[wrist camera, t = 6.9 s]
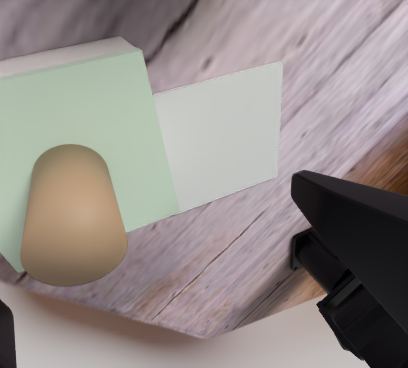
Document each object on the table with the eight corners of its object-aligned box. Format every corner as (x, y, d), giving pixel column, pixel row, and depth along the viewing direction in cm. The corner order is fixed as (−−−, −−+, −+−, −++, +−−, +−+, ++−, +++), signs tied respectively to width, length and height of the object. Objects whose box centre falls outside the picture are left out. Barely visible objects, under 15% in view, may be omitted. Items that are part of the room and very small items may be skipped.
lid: (176, 204, 17) (215, 277, 13) (19, 262, 15) (3, 372, 11) (137, 47, 12) (183, 81, 8) (-113, 101, 10) (-252, 192, 5)
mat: (275, 174, 26) (277, 176, 26) (173, 212, 24) (175, 214, 23) (279, 60, 20) (283, 61, 20) (144, 95, 18) (145, 97, 17)
